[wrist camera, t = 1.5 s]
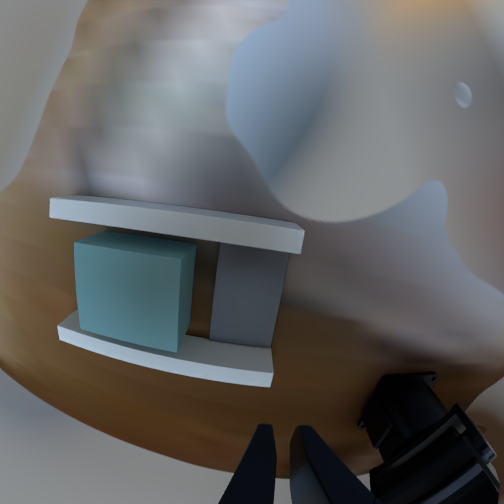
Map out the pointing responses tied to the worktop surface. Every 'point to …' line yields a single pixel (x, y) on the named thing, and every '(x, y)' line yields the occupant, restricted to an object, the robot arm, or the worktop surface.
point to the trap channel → (225, 293)
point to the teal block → (135, 288)
